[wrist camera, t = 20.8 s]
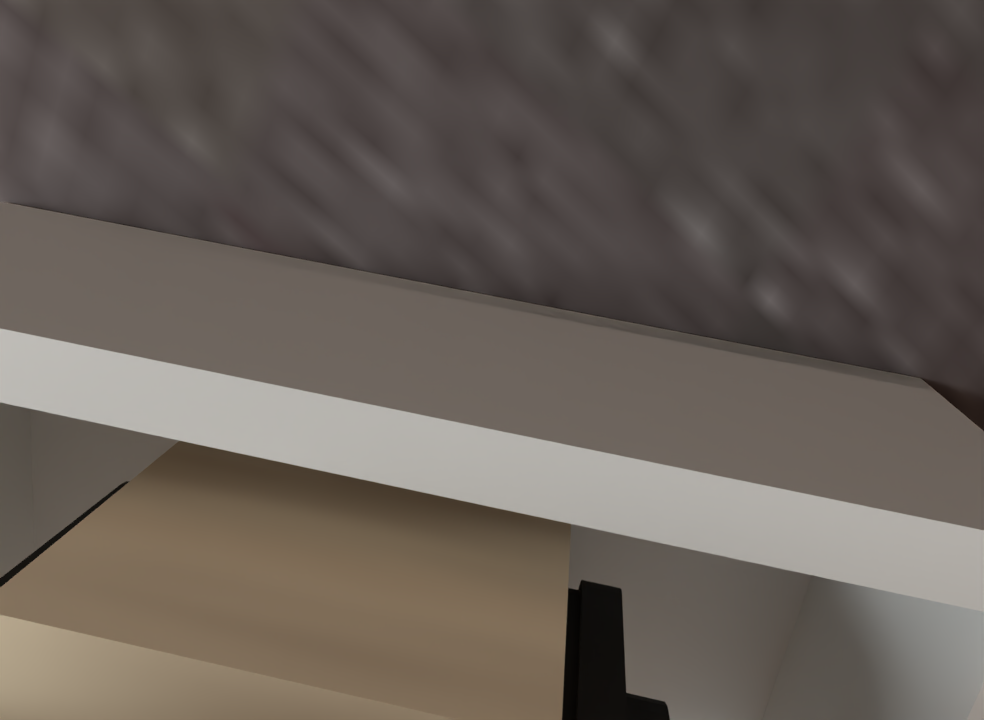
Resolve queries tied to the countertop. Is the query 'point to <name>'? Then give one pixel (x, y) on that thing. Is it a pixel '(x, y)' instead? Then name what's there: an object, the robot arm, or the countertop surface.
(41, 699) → the wood cube
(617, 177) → the countertop surface
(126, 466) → the tote
